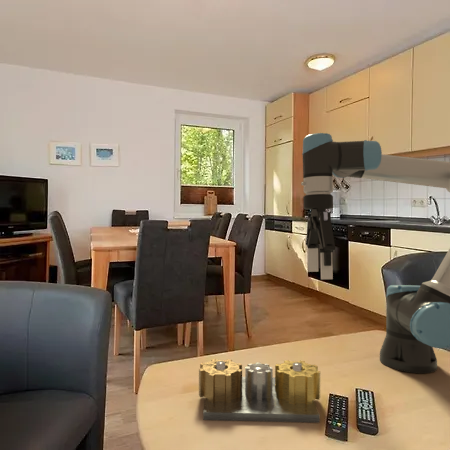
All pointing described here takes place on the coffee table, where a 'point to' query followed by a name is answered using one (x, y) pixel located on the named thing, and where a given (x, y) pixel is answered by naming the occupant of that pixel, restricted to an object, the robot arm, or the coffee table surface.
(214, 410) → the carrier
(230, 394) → the seated gear
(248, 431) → the coffee table surface
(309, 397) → the gear
